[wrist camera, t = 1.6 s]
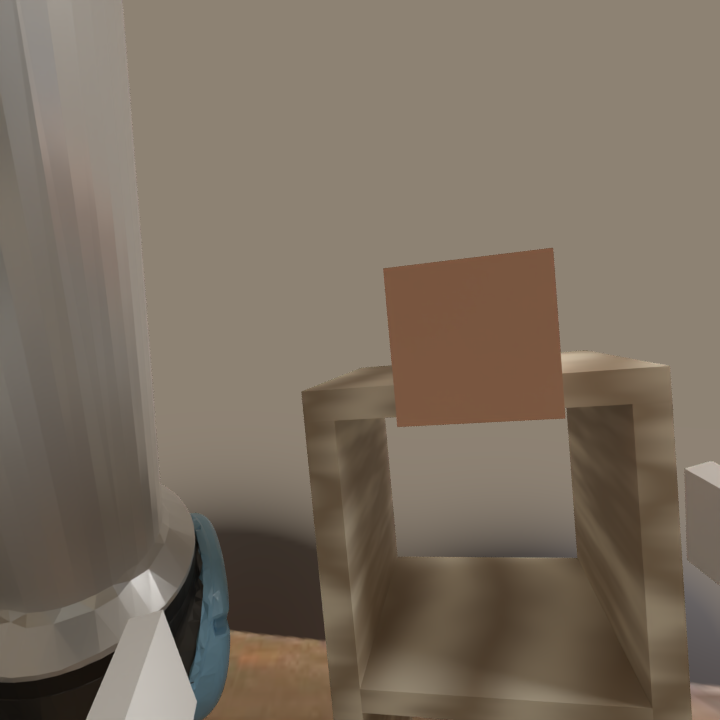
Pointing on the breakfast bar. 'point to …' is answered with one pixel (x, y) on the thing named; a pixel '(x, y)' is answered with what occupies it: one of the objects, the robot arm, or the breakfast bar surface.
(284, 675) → the breakfast bar surface
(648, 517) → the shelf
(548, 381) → the bar
